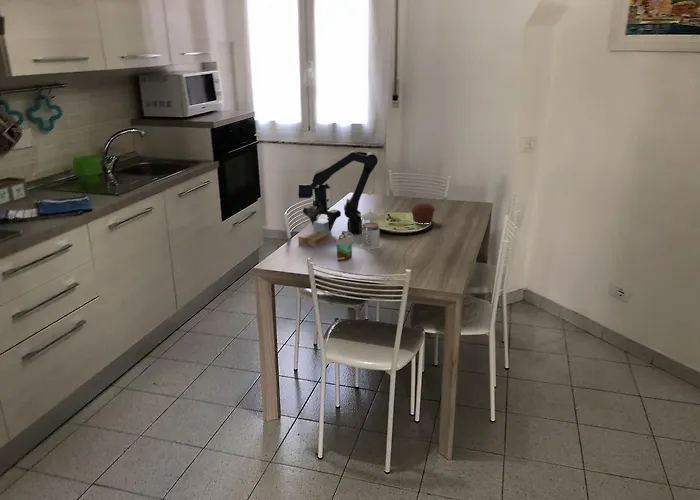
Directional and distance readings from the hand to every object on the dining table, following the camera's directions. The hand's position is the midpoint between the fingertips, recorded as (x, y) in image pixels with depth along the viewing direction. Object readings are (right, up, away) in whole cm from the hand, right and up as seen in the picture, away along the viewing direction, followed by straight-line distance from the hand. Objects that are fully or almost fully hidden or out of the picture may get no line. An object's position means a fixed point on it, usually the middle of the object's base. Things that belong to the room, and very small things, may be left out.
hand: (322, 229), depth 277 cm
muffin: (+50, +4, +11) cm, 51 cm away
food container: (+12, -13, -31) cm, 36 cm away
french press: (+22, -8, -17) cm, 29 cm away
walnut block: (-3, -7, -12) cm, 14 cm away
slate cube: (0, -2, +1) cm, 2 cm away
